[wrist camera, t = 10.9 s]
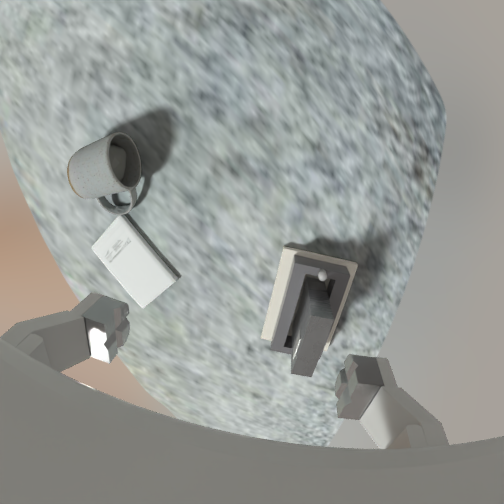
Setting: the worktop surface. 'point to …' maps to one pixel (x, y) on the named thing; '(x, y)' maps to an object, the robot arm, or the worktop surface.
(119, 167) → the ceramic mug
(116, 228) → the external hard drive
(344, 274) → the dock
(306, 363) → the block
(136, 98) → the worktop surface
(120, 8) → the worktop surface
